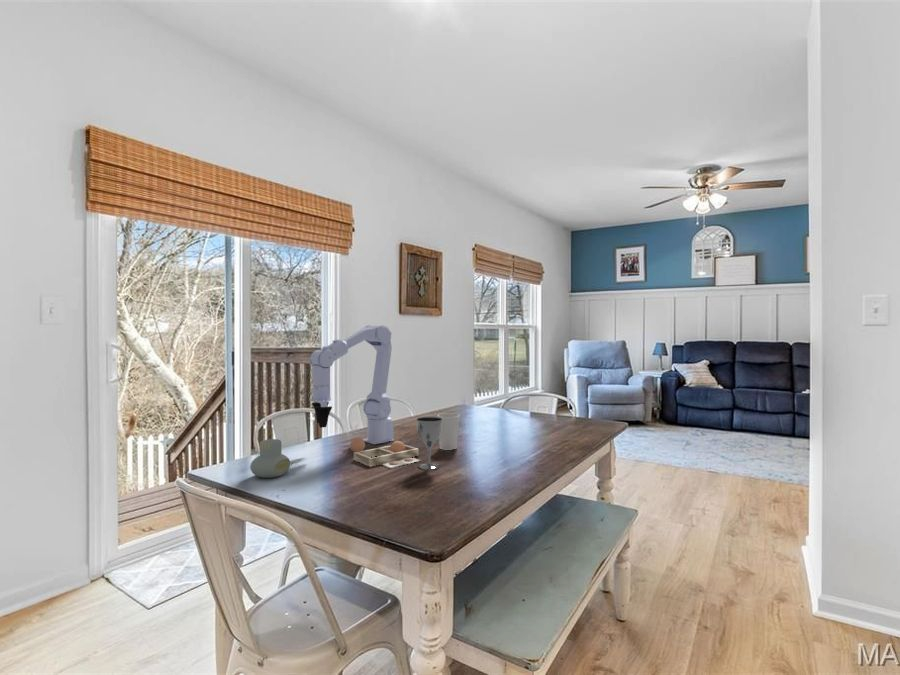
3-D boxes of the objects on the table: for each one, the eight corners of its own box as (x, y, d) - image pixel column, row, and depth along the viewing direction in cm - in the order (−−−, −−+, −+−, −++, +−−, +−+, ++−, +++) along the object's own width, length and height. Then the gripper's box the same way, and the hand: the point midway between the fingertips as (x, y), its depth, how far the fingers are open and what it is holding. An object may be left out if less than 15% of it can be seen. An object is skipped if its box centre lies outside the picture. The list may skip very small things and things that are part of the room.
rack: (400, 450, 168) (400, 443, 168) (429, 459, 156) (429, 451, 156) (353, 460, 155) (353, 452, 155) (380, 470, 143) (381, 462, 143)
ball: (399, 453, 164) (399, 438, 164) (408, 456, 160) (408, 441, 160) (387, 455, 161) (387, 440, 161) (396, 458, 157) (396, 443, 157)
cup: (463, 447, 172) (463, 414, 172) (451, 452, 165) (451, 418, 165) (445, 444, 176) (445, 412, 176) (432, 449, 170) (433, 415, 169)
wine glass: (447, 466, 148) (447, 418, 148) (428, 472, 142) (429, 422, 142) (429, 462, 153) (429, 415, 153) (411, 467, 147) (411, 418, 147)
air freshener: (269, 482, 132) (269, 446, 131) (245, 479, 134) (245, 444, 134) (294, 471, 142) (294, 438, 142) (271, 468, 145) (271, 436, 144)
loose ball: (360, 449, 168) (360, 435, 168) (367, 452, 165) (368, 438, 165) (347, 452, 165) (347, 437, 165) (355, 454, 161) (355, 440, 161)
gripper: (307, 383, 168) (307, 421, 168) (311, 388, 154) (311, 430, 155) (328, 382, 170) (328, 420, 171) (333, 387, 157) (333, 428, 157)
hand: (321, 425), depth 163 cm, fingers open, 7 cm apart
